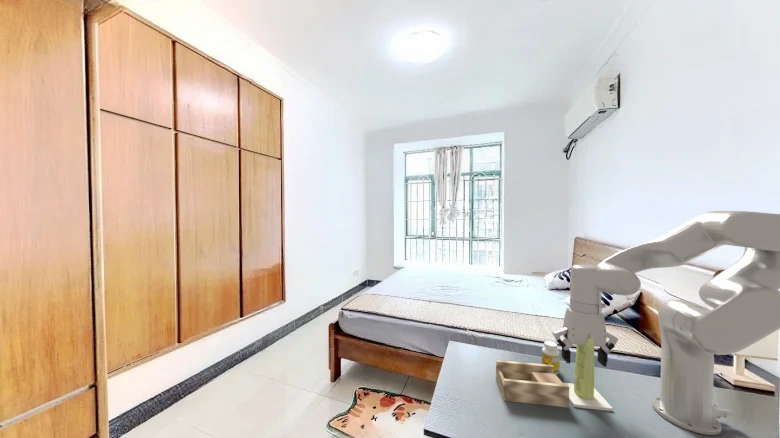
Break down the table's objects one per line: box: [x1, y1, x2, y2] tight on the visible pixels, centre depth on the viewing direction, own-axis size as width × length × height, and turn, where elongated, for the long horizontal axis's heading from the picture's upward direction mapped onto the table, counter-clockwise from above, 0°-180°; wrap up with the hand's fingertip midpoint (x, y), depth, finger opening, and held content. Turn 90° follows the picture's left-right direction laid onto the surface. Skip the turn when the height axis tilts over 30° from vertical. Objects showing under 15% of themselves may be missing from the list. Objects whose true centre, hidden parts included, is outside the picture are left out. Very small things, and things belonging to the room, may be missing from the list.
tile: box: [562, 382, 614, 412], centre depth 80 cm, size 10×10×1 cm
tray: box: [495, 359, 570, 408], centre depth 82 cm, size 18×11×6 cm, turn 80°
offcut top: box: [531, 372, 564, 384], centre depth 81 cm, size 7×6×2 cm
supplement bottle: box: [541, 340, 561, 375], centre depth 93 cm, size 5×5×10 cm
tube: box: [573, 335, 595, 399], centre depth 80 cm, size 6×5×20 cm
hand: (584, 362), depth 80 cm, fingers open, 9 cm apart
